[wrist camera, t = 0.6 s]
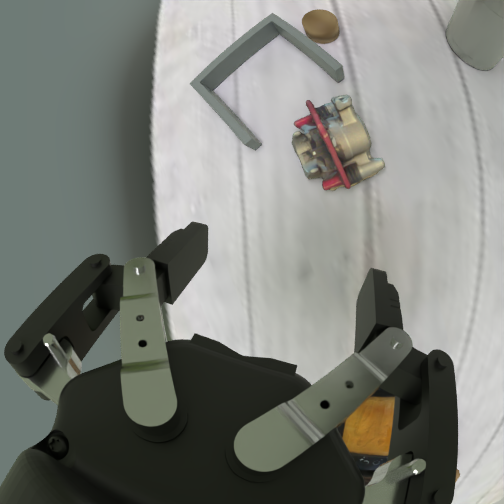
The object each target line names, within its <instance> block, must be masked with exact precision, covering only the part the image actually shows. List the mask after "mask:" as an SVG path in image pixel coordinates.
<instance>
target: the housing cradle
mask: <svg viewBox="0 0 504 504" xmlns="http://www.w3.org/2000/svg"><path fill="white" fill-rule="evenodd" d="M279 34H280V35H281V36H283V37H284V38H285V39H287V40H288V41H289V42H291V43H292V44H293V45H294V46H296V47H297V48H298V49H300V50H301V51H302V52H303V53H304V54H306V55H307V56H308V57H309V58H311V59H312V60H313V61H314V62H315V63H316V64H318V65H319V66H320V67H321V68H322V69H323V70H324V71H326V72H327V73H328V74H329V75H330V76H331V77H332V78H333V79H334V80H335V81H336V82H340V81H341V80H342V79H344V73H343V66H342V65H341V64H340V63H339V62H338V61H337V60H335V59H334V58H333V57H332V56H331V55H330V54H328V53H327V52H326V51H325V50H323V49H322V48H321V47H320V46H318V45H317V44H316V43H315V42H313V41H312V40H311V39H309V38H308V37H307V36H305V35H304V34H303V33H301V32H300V31H298V30H297V29H296V28H294V27H293V26H291V25H290V24H288V23H287V22H286V21H284V20H283V19H281V18H279V17H278V16H276V15H275V14H273V13H272V14H270V15H269V16H268V17H266V18H265V19H263V20H262V21H261V22H259V23H258V24H257V25H255V26H254V27H253V28H252V29H250V30H249V31H248V32H246V33H245V34H244V35H243V36H242V37H240V38H239V39H238V40H237V41H235V42H234V43H233V44H232V45H231V46H230V47H228V48H227V49H226V50H225V51H224V52H223V53H221V54H220V55H219V56H218V57H217V58H216V59H215V60H214V61H213V62H212V63H210V64H209V65H208V66H207V67H206V68H205V69H204V70H203V71H202V72H201V73H200V74H199V75H198V76H197V77H196V78H195V79H194V80H193V81H192V82H191V83H190V85H191V86H192V87H193V88H194V89H195V90H196V91H197V92H198V93H199V94H200V95H201V96H202V97H203V99H204V100H205V101H206V102H207V103H208V104H209V105H210V106H211V107H212V108H213V109H214V111H215V112H216V113H217V114H218V115H219V116H220V117H221V118H222V120H223V121H224V122H225V123H226V124H227V125H228V126H229V127H230V129H231V130H232V131H233V132H234V133H235V134H236V136H237V137H238V138H239V139H240V140H241V141H242V143H243V144H244V145H246V146H248V147H250V148H252V149H254V150H256V149H257V148H259V147H260V146H261V145H262V144H261V143H260V142H259V141H258V139H257V138H256V137H255V136H254V135H253V134H252V133H251V131H250V130H249V129H248V128H247V127H246V126H245V125H244V124H243V123H242V121H241V120H240V119H239V118H238V117H237V116H236V115H235V114H234V113H233V112H232V110H231V109H230V108H229V107H228V106H227V105H226V104H225V103H224V102H223V101H222V100H221V99H220V98H219V97H218V96H217V95H216V94H215V93H214V92H213V90H214V89H215V88H216V87H217V86H218V85H219V84H220V83H221V82H223V81H224V80H225V79H226V78H227V77H228V76H229V75H230V74H231V73H232V72H234V71H235V70H236V69H237V68H238V67H239V66H240V65H242V64H243V63H244V62H245V61H246V60H248V59H249V58H250V57H251V56H252V55H254V54H255V53H256V52H257V51H258V50H260V49H261V48H262V47H263V46H265V45H266V44H267V43H269V42H270V41H271V40H273V39H274V38H275V37H277V36H278V35H279Z"/></svg>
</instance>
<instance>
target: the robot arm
mask: <svg viewBox="0 0 504 504" xmlns="http://www.w3.org/2000/svg"><path fill="white" fill-rule="evenodd" d="M446 37H447V41H448V43H449V45H450V46H451V48H452V49H453V51H454V52H455V53H456V54H457V55H458V56H459V57H460V58H461V59H462V60H463V61H464V62H466V63H467V64H469V65H470V66H472V67H474V68H476V69H479V70H490V69H492V68H493V67H494V66H495V65H496V64H497V63H498V62H499V61H500V60H501V59H502V58H503V57H504V0H459V1H458V3H457V6H456V8H455V11H454V13H453V15H452V17H451V20H450V22H449V25H448V27H447V30H446ZM207 254H208V226H207V225H205V224H201V223H197V222H191V223H190V224H189V225H188V226H187V227H186V228H185V229H179V230H177V231H175V232H173V233H171V234H170V235H169V236H168V237H167V238H166V239H165V240H164V241H163V242H162V244H160V245H158V246H157V247H156V248H155V249H154V250H153V251H152V252H151V253H150V254H149V255H148V256H147V257H146V258H144V257H139V258H134V259H132V260H130V261H128V262H127V263H126V264H125V266H122V265H111V263H110V259H109V257H108V256H107V255H104V254H95V255H92V256H90V257H88V258H87V259H85V260H84V261H83V262H82V263H81V264H80V265H79V266H78V267H77V268H76V269H75V270H74V271H73V272H72V273H71V274H70V275H69V276H68V277H67V278H66V279H65V280H64V281H63V282H62V283H61V284H60V285H59V286H58V287H57V288H56V289H55V290H54V291H53V292H52V293H51V294H50V295H49V296H48V297H47V298H46V299H45V300H44V301H43V302H42V303H41V304H40V305H39V307H38V308H37V309H36V310H35V311H34V312H33V313H32V314H31V315H30V316H29V317H28V319H27V320H26V321H25V322H24V323H23V324H22V326H21V327H20V328H19V329H18V330H17V331H16V332H15V334H14V335H13V336H12V337H11V338H10V340H9V341H8V343H7V344H6V347H5V352H4V355H5V358H6V360H7V361H8V362H9V363H10V364H11V366H12V367H13V368H14V369H15V371H16V373H17V374H18V375H19V376H20V377H21V379H23V381H24V382H25V383H26V384H27V385H28V386H29V387H30V388H31V389H32V390H34V391H35V392H36V393H37V394H38V395H39V396H40V397H41V398H42V399H44V400H52V401H53V402H54V403H56V404H57V405H58V409H57V415H56V419H55V423H54V425H53V428H52V430H51V432H50V433H49V435H48V436H47V437H46V438H44V439H43V440H42V441H40V442H39V443H37V444H36V445H34V446H32V447H30V448H28V449H27V450H25V451H23V452H22V453H21V454H20V455H19V456H18V458H17V459H16V461H15V463H14V464H13V466H12V468H11V469H10V471H9V473H8V474H7V476H6V478H5V480H4V481H3V483H2V485H1V486H0V504H451V503H452V500H453V496H454V489H455V481H456V470H457V455H458V410H457V394H456V382H455V373H454V365H453V362H452V360H451V358H450V357H449V355H448V354H447V353H445V352H444V351H441V350H433V351H431V352H430V353H429V354H428V355H426V354H424V353H422V352H420V351H418V350H417V349H415V348H413V347H412V340H411V338H410V336H409V335H408V334H407V333H406V332H405V331H403V323H402V315H401V309H400V302H399V295H398V292H397V290H396V289H395V287H394V285H392V284H389V283H388V281H387V274H386V272H385V271H381V270H378V269H374V268H371V269H370V270H369V272H368V274H367V277H366V279H365V281H364V284H363V286H362V288H361V290H360V293H359V295H358V299H357V305H356V332H355V349H354V354H352V355H351V356H350V357H349V358H347V359H346V360H345V361H344V362H342V363H341V364H340V365H339V366H337V367H336V368H335V369H333V370H332V371H331V372H330V373H328V374H327V375H326V376H324V377H323V378H322V379H320V380H319V381H317V382H316V383H315V384H313V385H311V384H310V383H309V382H308V381H307V380H306V379H305V378H303V377H302V376H300V375H298V374H296V373H295V372H296V368H297V365H294V364H290V363H286V362H283V361H279V360H276V359H272V358H260V357H249V356H242V355H240V354H238V353H237V352H235V351H233V350H231V349H230V348H228V347H227V346H225V345H223V344H222V343H220V342H218V341H215V340H212V339H209V338H207V337H204V336H201V335H198V334H194V336H193V337H192V339H191V340H183V339H181V340H172V341H168V342H167V339H166V334H165V329H164V322H163V316H162V310H161V305H162V304H163V302H166V303H169V304H172V305H173V303H174V302H175V301H176V299H177V298H178V297H179V295H180V294H181V293H182V291H183V290H184V289H185V287H186V286H187V285H188V283H189V282H190V281H191V279H192V278H193V277H194V276H195V274H196V273H197V272H198V270H199V269H200V268H201V266H202V265H203V264H204V262H205V260H206V258H207ZM91 295H92V296H93V300H92V301H91V302H90V303H89V304H88V306H87V307H86V308H85V309H84V310H83V305H84V303H85V302H86V301H87V300H88V298H89V297H90V296H91ZM82 310H83V311H82ZM119 310H120V334H121V356H122V359H120V360H118V361H115V362H113V363H110V364H107V365H104V366H102V367H99V368H96V369H93V370H90V371H88V372H85V373H82V374H80V372H81V368H82V364H81V361H82V360H83V358H84V357H85V356H86V354H87V353H88V351H89V350H90V348H91V347H92V346H93V344H94V343H95V342H96V340H97V339H98V338H99V336H100V335H101V334H102V332H103V331H104V330H105V328H106V327H107V326H108V324H109V323H110V322H111V320H112V319H113V318H114V317H115V315H116V314H117V313H118V311H119ZM378 388H381V389H383V390H385V391H387V392H389V393H391V394H393V395H395V403H394V414H393V424H392V432H391V440H390V446H389V453H388V459H387V462H386V463H384V464H382V465H380V466H379V467H378V468H377V469H376V470H375V472H374V474H373V477H372V479H371V481H370V482H369V483H368V485H366V486H365V482H364V478H363V476H362V474H361V472H360V470H359V468H358V466H357V465H356V463H355V461H354V459H353V457H352V455H351V454H350V452H349V450H348V448H347V446H346V444H345V442H344V441H343V439H342V437H341V435H340V433H339V431H338V429H337V427H339V426H340V425H341V424H342V423H343V422H344V421H345V420H346V419H348V418H349V417H350V416H351V415H352V414H353V413H354V412H355V411H356V410H357V409H358V408H359V407H360V406H361V405H362V404H363V403H365V402H366V401H367V400H368V399H369V398H370V397H371V396H372V395H373V394H374V393H375V392H376V391H377V390H378Z"/></svg>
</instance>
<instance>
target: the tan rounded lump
mask: <svg viewBox="0 0 504 504" xmlns="http://www.w3.org/2000/svg"><path fill="white" fill-rule="evenodd" d="M302 24H303V27H304V29H305V32H306V34H307V36H308V38H309V39H311V40H312V41H314V42H316V43H321V44H325V43H330V42H333V41H335V40H336V39H337V38H338V36H339V27H338V21H337V18H336V16H335V15H334V14H332V13H331V12H329V11H326V10H313V11H310V12H308V13H307V14H305V15H304V17H303V19H302Z"/></svg>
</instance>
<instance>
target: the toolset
mask: <svg viewBox="0 0 504 504" xmlns="http://www.w3.org/2000/svg"><path fill="white" fill-rule="evenodd" d="M394 403H395V395H393V394H391V393H389V392H387V391H385V390H383V389H381V388H378V390H377V391H376V392H375V393H374V394H373V395H372V396H371V397H370V398H369V399H368V400H367V401H366V402H365V403H363V404H362V405H361V406H360V407H359V408H358V409H357V410H356V411H355V412H354V413H353V414H352V415H351V416H350V417H349V418H348V419H346V420H345V421H344V422H343V423H342V424H341V425H340V426H339V427H337V429H338V431H339V433H340V435H341V437H342V439H343V441H344V442H345V444H346V446H347V448H348V450H349V452H350V454H351V455H352V457H353V459H354V461H355V463H356V465H357V466H358V468H359V470H360V472H361V474H362V476H363V478H364V482H365V486H366V485H368V483H369V482H370V481H371V479H372V477H373V474H374V472H375V470H376V469H377V468H378V467H379V466H380V465H382V464H384V463H386V462H387V459H388V453H389V446H390V440H391V432H392V424H393V414H394ZM459 476H460V473H459V470H458V469H457V470H456V481H457V479H458V478H459ZM456 481H455V482H456Z"/></svg>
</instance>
